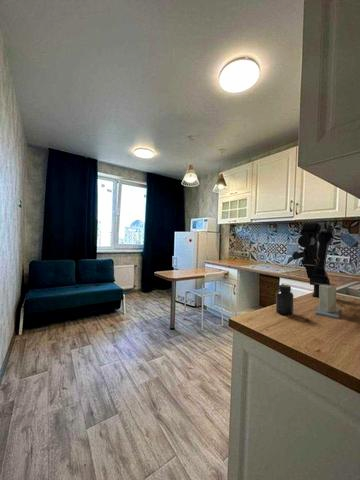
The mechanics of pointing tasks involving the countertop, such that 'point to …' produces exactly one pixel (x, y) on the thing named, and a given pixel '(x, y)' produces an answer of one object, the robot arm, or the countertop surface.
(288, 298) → the supplement bottle
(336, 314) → the mat
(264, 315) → the countertop surface
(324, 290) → the box
